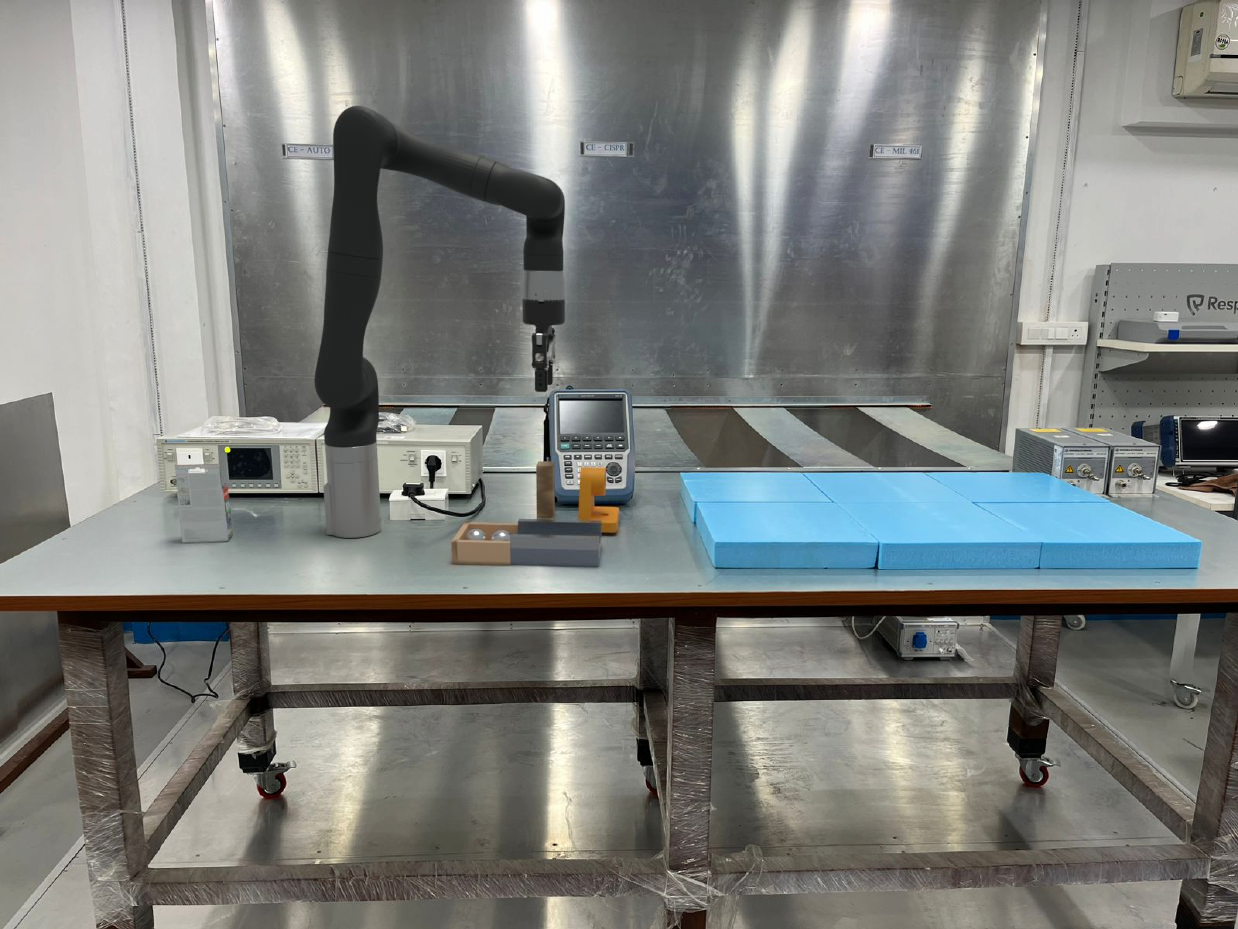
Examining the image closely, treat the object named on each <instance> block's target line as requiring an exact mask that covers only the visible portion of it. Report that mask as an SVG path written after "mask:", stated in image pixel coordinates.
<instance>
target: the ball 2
mask: <svg viewBox="0 0 1238 929" xmlns="http://www.w3.org/2000/svg"><path fill="white" fill-rule="evenodd" d="M510 536H511V534H510V533H509V532H508V531H506V530H499V531H496V532H495V533H494V534H493V535H492V537H491V541H510Z"/></svg>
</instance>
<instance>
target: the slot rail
mask: <svg viewBox="0 0 1238 929" xmlns="http://www.w3.org/2000/svg"><path fill="white" fill-rule="evenodd" d="M517 523H518V533H517V534H511V536H510V552H511V565H510V566H540V567H541V566H542V567H543V566H545V567H546V566H548V567H550V566H551V567H579V568H580V567H585V568H587V567H588V568H590V567H591V568H599V566H600V559H601V552H602V540H603V539H602V538H603V537H602V535H603V534H602V533H603V532H602V521H600V520H578V519H556V518H555V519H536V518H519V519H518V520H517Z"/></svg>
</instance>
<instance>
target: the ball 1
mask: <svg viewBox="0 0 1238 929" xmlns="http://www.w3.org/2000/svg"><path fill="white" fill-rule="evenodd" d="M465 540H484V541H488V538H487V535H486V533H485V532H484V531H482V530H480V529H473V530H470V531H469V532H468V533H467V534H466V536H465Z"/></svg>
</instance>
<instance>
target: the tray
mask: <svg viewBox="0 0 1238 929" xmlns="http://www.w3.org/2000/svg"><path fill="white" fill-rule="evenodd" d="M473 529H480V530H482V531H484V532H485V533H486V535H487V538H488V541H484V540H465V536H466V534H467V533H468V532H469V531H470V530H473ZM499 530H506V531H508V532H509V533H510V534H517V533H518V522H517V523H516V522H515V523H510V522H506V523H505V522H471V521H468V522H466V521H465V522H464V523H463V524H462V526H461V527H460V528H459V529H458V531H457V532H456V534H455V535H454V537H453V538H452V540H451V541H450V542H451V543H450V544H451V564H452V565H476V566H477V565H479V566H480V565H481V566H483V565H484V566H486V565H487V566H512V565H511V552H510V541H491V537H492V535H493V534H494V533H495V532H496V531H499Z"/></svg>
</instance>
